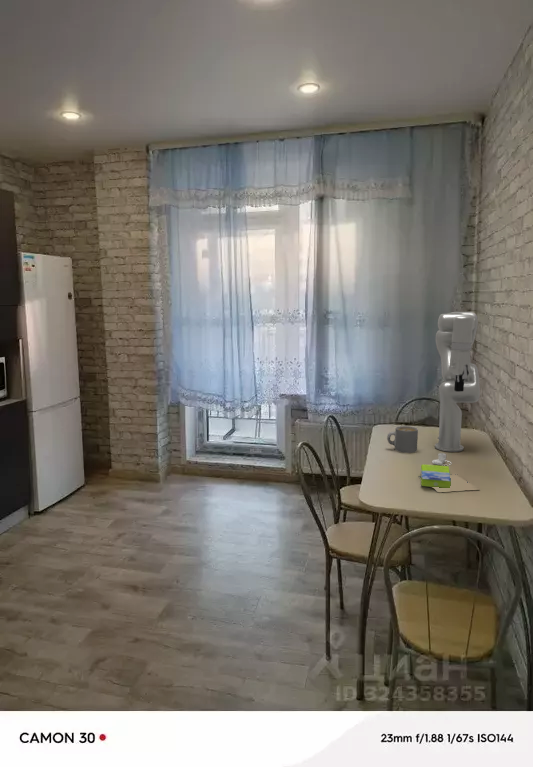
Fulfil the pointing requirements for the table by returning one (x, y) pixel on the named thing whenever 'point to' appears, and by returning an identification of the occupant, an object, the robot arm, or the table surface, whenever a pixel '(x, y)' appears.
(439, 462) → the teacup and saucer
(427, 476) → the box
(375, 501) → the table surface
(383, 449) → the table surface
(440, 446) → the robot arm
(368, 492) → the table surface
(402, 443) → the coffee mug
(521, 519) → the table surface
